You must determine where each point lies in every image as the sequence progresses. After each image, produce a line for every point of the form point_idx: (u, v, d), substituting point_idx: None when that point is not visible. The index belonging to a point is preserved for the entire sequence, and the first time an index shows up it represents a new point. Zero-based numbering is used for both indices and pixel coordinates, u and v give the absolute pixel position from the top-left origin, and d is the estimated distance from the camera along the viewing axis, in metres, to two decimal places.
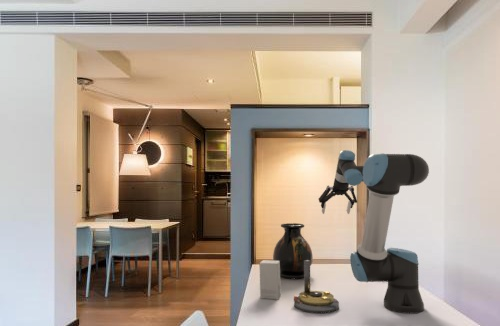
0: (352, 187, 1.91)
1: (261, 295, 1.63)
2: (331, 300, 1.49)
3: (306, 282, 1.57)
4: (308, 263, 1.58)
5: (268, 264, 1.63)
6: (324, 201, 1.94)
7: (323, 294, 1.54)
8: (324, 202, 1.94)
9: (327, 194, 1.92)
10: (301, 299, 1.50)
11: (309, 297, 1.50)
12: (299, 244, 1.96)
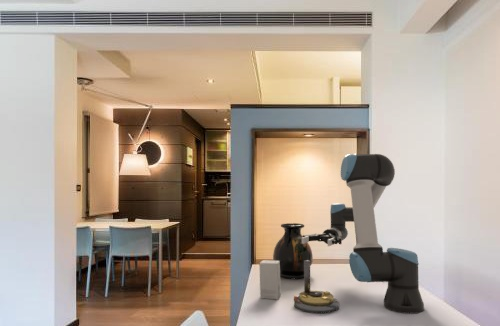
0: (340, 237, 1.78)
1: (261, 295, 1.63)
2: (331, 300, 1.49)
3: (306, 282, 1.57)
4: (308, 263, 1.58)
5: (268, 264, 1.63)
6: (307, 235, 1.78)
7: (323, 294, 1.54)
8: (307, 236, 1.77)
9: (312, 234, 1.81)
10: (301, 299, 1.50)
11: (309, 297, 1.50)
12: (299, 244, 1.96)
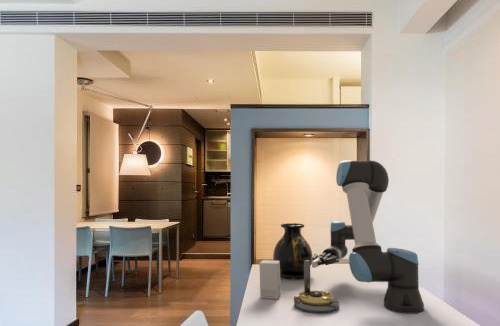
0: (338, 258, 1.77)
1: (261, 295, 1.63)
2: (331, 300, 1.49)
3: (306, 282, 1.57)
4: (308, 263, 1.58)
5: (268, 264, 1.63)
6: (316, 258, 1.73)
7: (323, 294, 1.54)
8: (317, 258, 1.73)
9: (316, 255, 1.79)
10: (301, 299, 1.50)
11: (309, 297, 1.50)
12: (299, 244, 1.96)
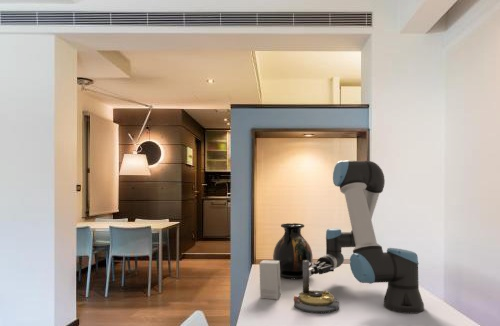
0: (333, 267, 1.71)
1: (261, 295, 1.63)
2: (332, 300, 1.49)
3: (305, 282, 1.57)
4: (307, 263, 1.58)
5: (268, 264, 1.63)
6: (310, 266, 1.68)
7: (322, 294, 1.55)
8: (311, 267, 1.67)
9: (310, 264, 1.73)
10: (302, 300, 1.50)
11: (310, 297, 1.50)
12: (299, 244, 1.96)
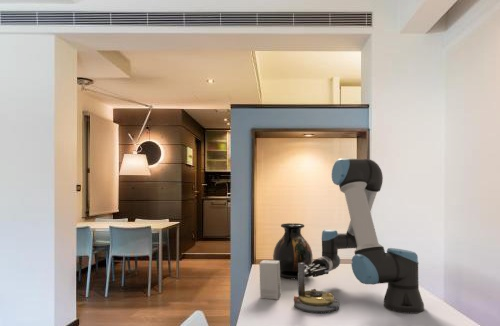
0: None
1: (261, 295, 1.63)
2: None
3: (303, 285, 1.52)
4: (304, 265, 1.54)
5: (268, 264, 1.63)
6: None
7: None
8: (305, 269, 1.62)
9: None
10: (317, 302, 1.46)
11: (320, 298, 1.49)
12: (299, 244, 1.96)
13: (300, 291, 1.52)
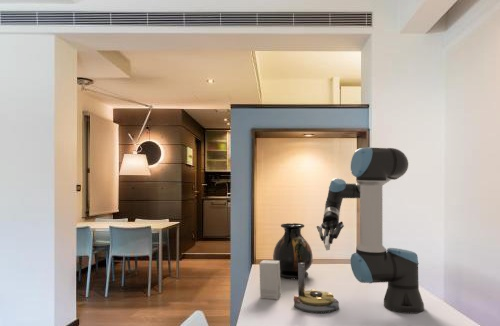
0: None
1: (261, 295, 1.63)
2: None
3: (303, 285, 1.52)
4: (304, 265, 1.54)
5: (268, 264, 1.63)
6: (324, 235, 1.70)
7: None
8: (325, 235, 1.69)
9: (320, 229, 1.75)
10: (317, 302, 1.46)
11: (320, 298, 1.49)
12: (299, 244, 1.96)
13: (300, 291, 1.52)
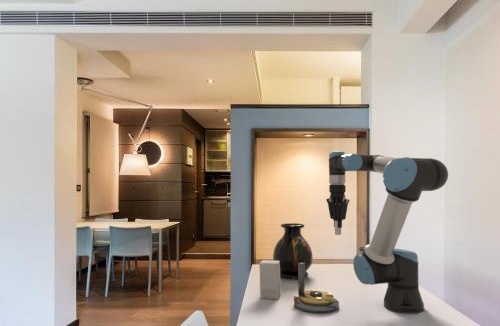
0: (346, 199, 1.71)
1: (261, 295, 1.63)
2: None
3: (303, 285, 1.52)
4: (304, 265, 1.54)
5: (268, 264, 1.63)
6: (333, 217, 1.76)
7: None
8: (334, 218, 1.76)
9: (329, 205, 1.78)
10: (317, 302, 1.46)
11: (320, 298, 1.49)
12: (299, 244, 1.96)
13: (300, 291, 1.52)
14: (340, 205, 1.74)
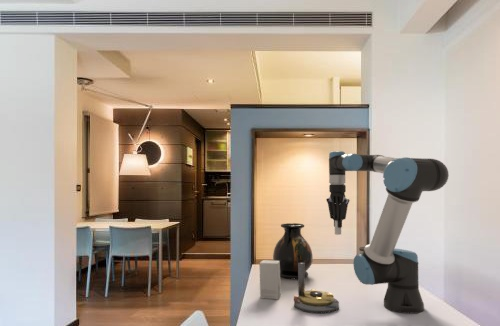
0: (346, 199, 1.71)
1: (261, 295, 1.63)
2: None
3: (303, 285, 1.52)
4: (304, 265, 1.54)
5: (268, 264, 1.63)
6: (333, 217, 1.76)
7: None
8: (334, 218, 1.76)
9: (330, 205, 1.78)
10: (317, 302, 1.46)
11: (320, 298, 1.49)
12: (299, 244, 1.96)
13: (300, 291, 1.52)
14: (340, 205, 1.74)
